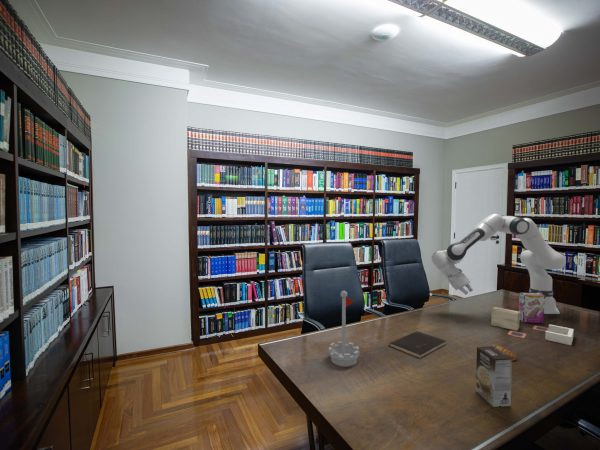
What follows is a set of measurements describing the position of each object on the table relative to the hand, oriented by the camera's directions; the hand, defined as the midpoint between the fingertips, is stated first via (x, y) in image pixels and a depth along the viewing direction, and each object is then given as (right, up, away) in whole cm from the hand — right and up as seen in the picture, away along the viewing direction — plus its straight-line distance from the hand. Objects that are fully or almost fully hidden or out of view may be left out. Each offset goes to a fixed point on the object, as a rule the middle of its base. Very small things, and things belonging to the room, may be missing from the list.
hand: (469, 292), depth 179 cm
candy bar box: (+33, -16, -5) cm, 37 cm away
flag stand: (-83, -18, -50) cm, 99 cm away
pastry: (-12, -18, -47) cm, 52 cm away
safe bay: (+29, -17, -29) cm, 44 cm away
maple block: (+13, -16, -12) cm, 24 cm away
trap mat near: (+11, -16, -24) cm, 31 cm away
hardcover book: (-45, -18, -36) cm, 60 cm away
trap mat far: (+30, -16, -16) cm, 38 cm away
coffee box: (-36, -19, -78) cm, 88 cm away
